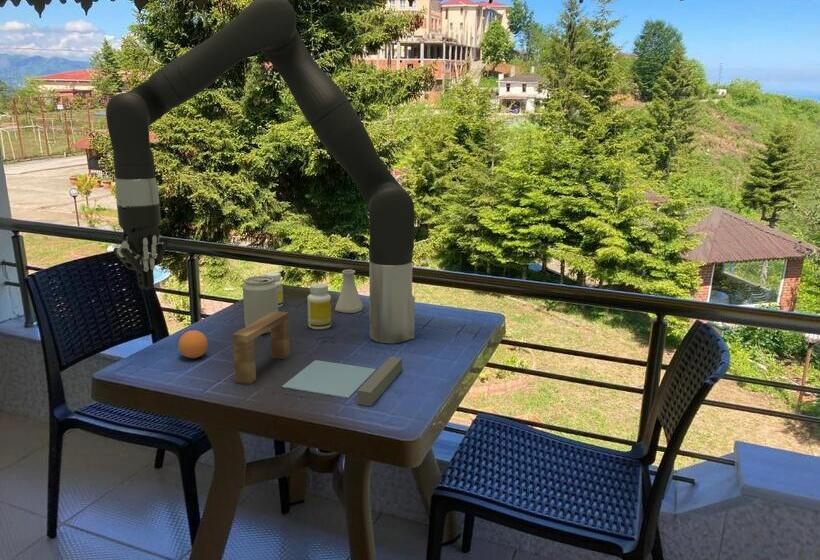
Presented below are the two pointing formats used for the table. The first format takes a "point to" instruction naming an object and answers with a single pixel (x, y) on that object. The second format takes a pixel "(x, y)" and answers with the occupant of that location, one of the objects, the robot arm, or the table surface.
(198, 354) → the ball
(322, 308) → the supplement bottle
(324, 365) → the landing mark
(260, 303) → the can
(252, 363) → the bridge
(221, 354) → the table surface
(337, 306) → the flask
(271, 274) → the supplement bottle
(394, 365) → the bar
